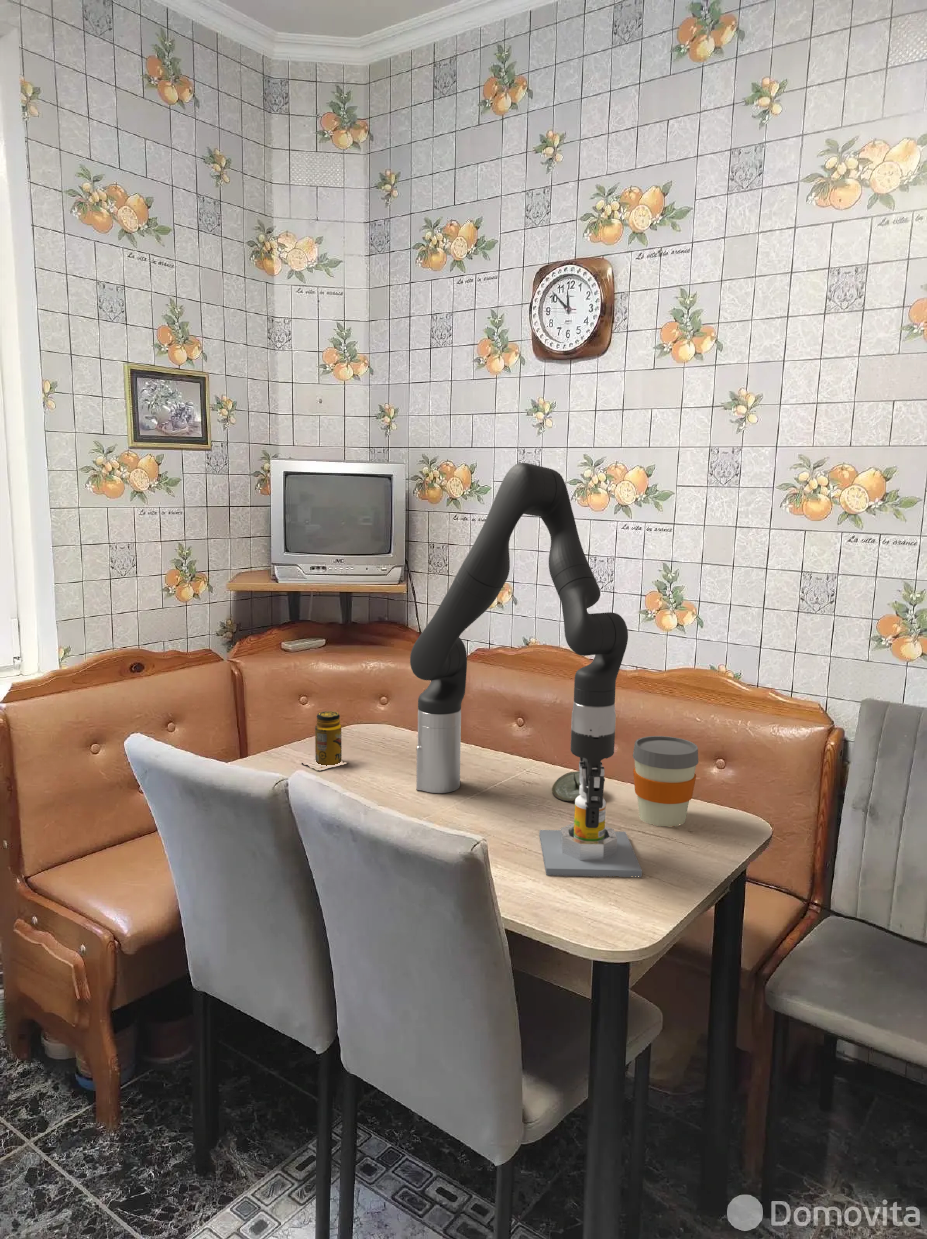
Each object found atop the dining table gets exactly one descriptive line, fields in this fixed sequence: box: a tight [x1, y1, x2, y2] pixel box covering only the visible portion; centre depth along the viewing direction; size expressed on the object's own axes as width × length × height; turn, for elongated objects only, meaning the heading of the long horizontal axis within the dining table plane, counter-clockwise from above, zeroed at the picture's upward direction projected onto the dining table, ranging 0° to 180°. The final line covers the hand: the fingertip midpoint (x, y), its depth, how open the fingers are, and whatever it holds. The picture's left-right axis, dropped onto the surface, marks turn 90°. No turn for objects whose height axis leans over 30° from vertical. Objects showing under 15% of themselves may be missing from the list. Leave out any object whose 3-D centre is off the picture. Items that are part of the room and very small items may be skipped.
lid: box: [551, 770, 580, 802], centre depth 178 cm, size 11×10×5 cm
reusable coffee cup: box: [632, 735, 699, 827], centre depth 165 cm, size 13×13×15 cm
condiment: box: [314, 710, 343, 766], centre depth 194 cm, size 7×8×12 cm
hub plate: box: [538, 829, 643, 878], centre depth 149 cm, size 16×16×1 cm
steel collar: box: [560, 822, 617, 861], centre depth 148 cm, size 10×10×3 cm
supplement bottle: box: [573, 784, 607, 842], centre depth 148 cm, size 5×5×10 cm
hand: (589, 819), depth 148 cm, fingers closed on supplement bottle, 5 cm apart
